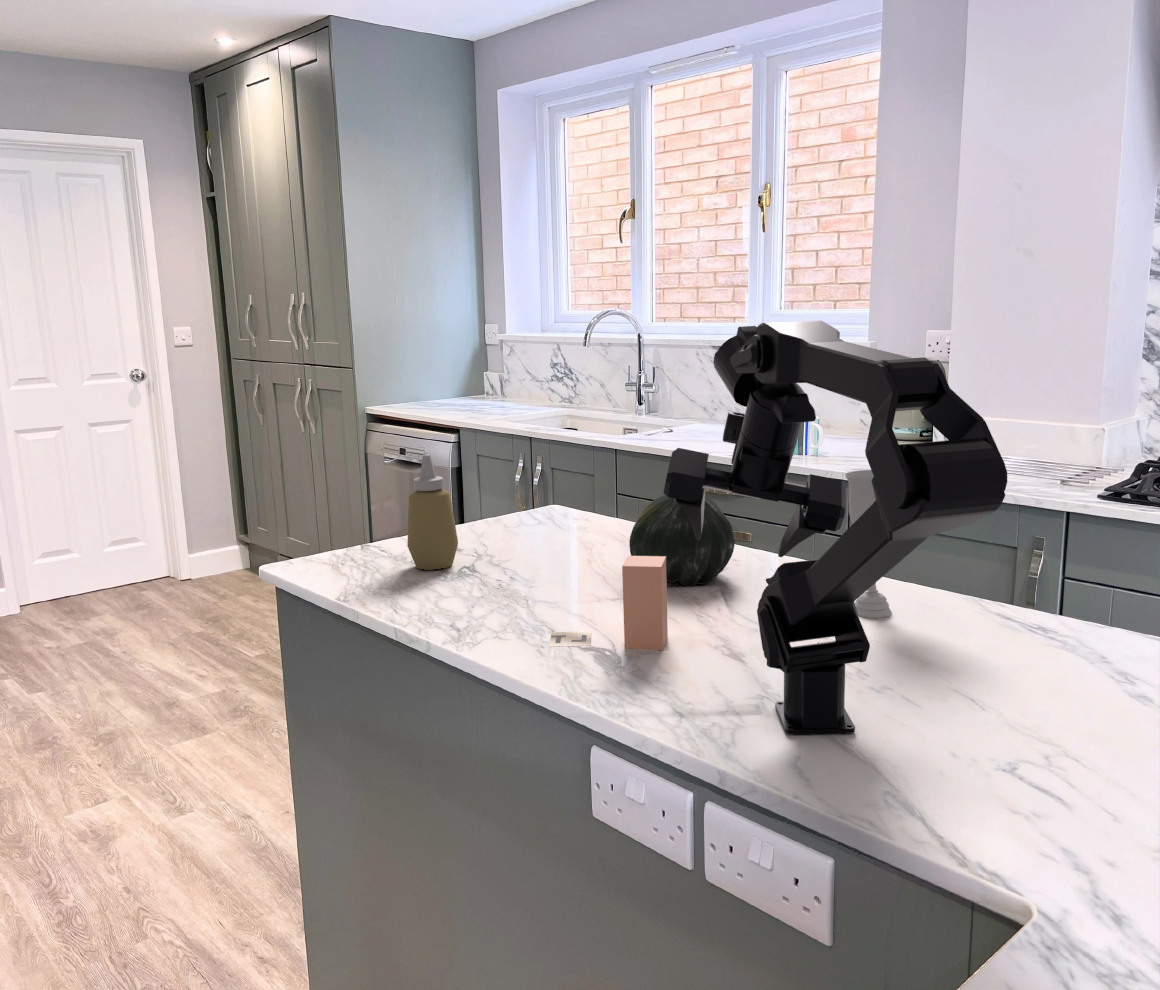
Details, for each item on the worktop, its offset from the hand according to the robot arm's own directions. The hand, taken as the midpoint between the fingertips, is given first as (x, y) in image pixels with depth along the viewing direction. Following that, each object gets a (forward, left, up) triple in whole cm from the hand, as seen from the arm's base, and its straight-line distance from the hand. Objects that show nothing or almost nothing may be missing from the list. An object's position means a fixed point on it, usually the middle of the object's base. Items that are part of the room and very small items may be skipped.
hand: (739, 545), depth 107 cm
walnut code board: (+4, +15, -13) cm, 20 cm away
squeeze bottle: (+43, +43, -13) cm, 62 cm away
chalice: (+15, -19, -13) cm, 28 cm away
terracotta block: (+4, +11, -12) cm, 17 cm away
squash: (+32, +4, -13) cm, 35 cm away
